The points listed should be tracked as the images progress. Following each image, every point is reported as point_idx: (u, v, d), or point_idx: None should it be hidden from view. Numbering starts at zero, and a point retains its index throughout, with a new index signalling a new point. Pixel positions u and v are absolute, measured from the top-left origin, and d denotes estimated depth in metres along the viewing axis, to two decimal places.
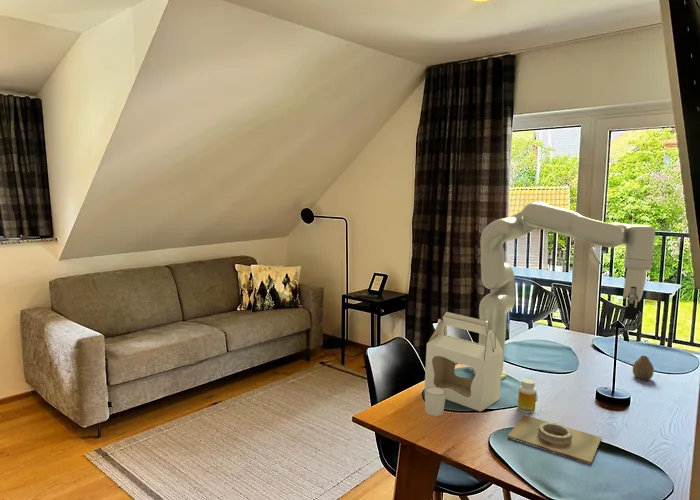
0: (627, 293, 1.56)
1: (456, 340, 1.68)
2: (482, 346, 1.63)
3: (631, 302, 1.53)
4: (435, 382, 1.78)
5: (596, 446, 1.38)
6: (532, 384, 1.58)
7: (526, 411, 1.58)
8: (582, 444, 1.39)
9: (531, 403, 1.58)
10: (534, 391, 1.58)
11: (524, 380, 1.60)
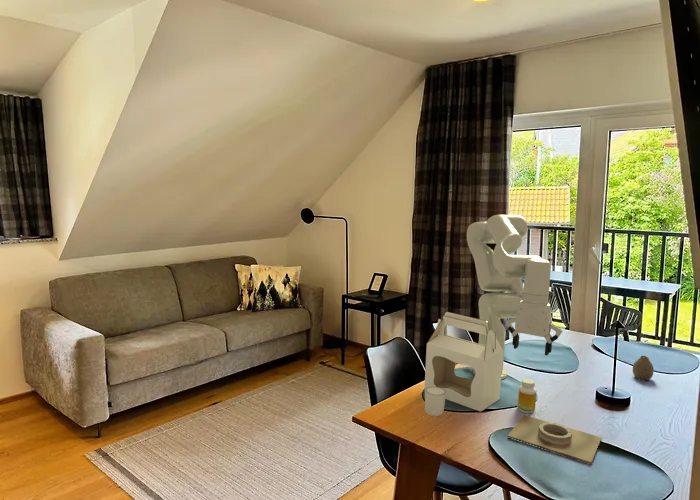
0: (548, 330, 1.53)
1: (456, 340, 1.68)
2: (482, 346, 1.63)
3: None
4: (435, 382, 1.78)
5: (596, 446, 1.38)
6: (532, 384, 1.58)
7: (526, 411, 1.58)
8: (582, 444, 1.39)
9: (531, 403, 1.58)
10: (534, 391, 1.58)
11: (524, 380, 1.60)
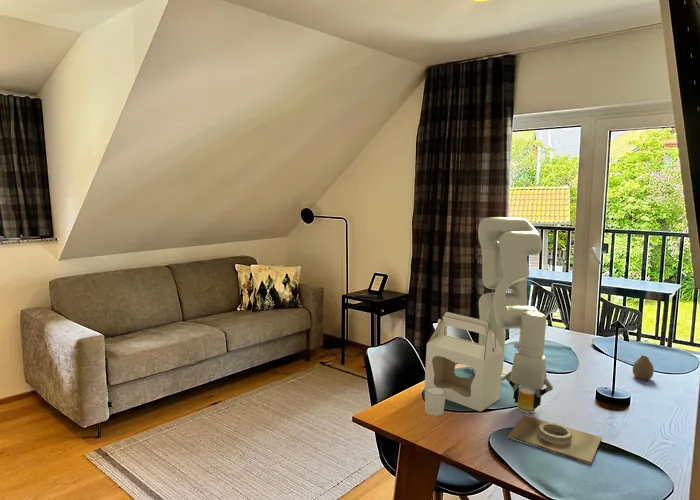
0: None
1: (456, 340, 1.68)
2: (482, 346, 1.63)
3: (546, 392, 1.57)
4: (435, 382, 1.78)
5: (596, 446, 1.38)
6: None
7: (526, 411, 1.58)
8: (582, 444, 1.39)
9: (531, 403, 1.58)
10: (534, 391, 1.58)
11: None
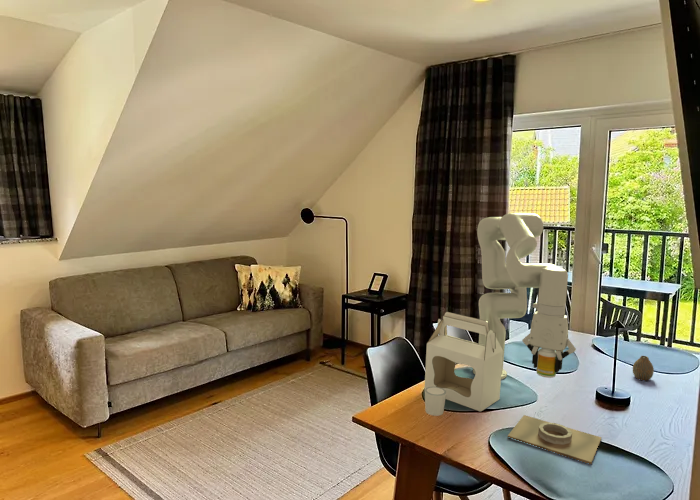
0: None
1: (456, 340, 1.68)
2: (482, 346, 1.63)
3: (568, 354, 1.44)
4: (435, 382, 1.78)
5: (596, 446, 1.38)
6: None
7: (546, 376, 1.46)
8: (582, 444, 1.39)
9: (552, 367, 1.45)
10: (555, 354, 1.45)
11: None
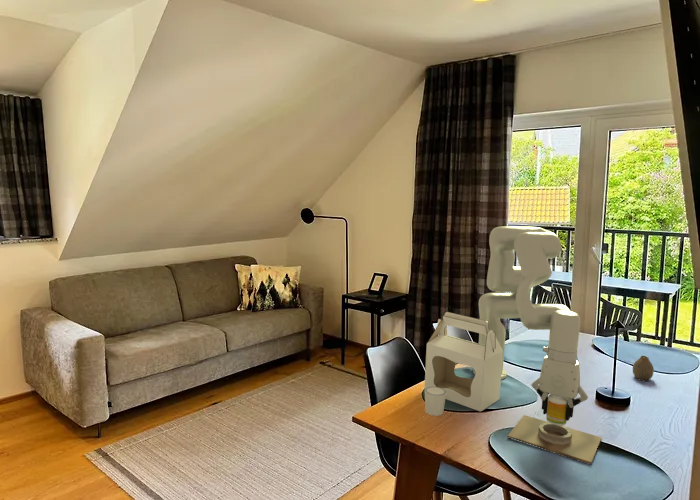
0: None
1: (456, 340, 1.68)
2: (482, 346, 1.63)
3: None
4: (435, 382, 1.78)
5: (596, 446, 1.38)
6: None
7: (557, 423, 1.39)
8: (582, 444, 1.39)
9: (563, 414, 1.39)
10: (566, 401, 1.39)
11: None
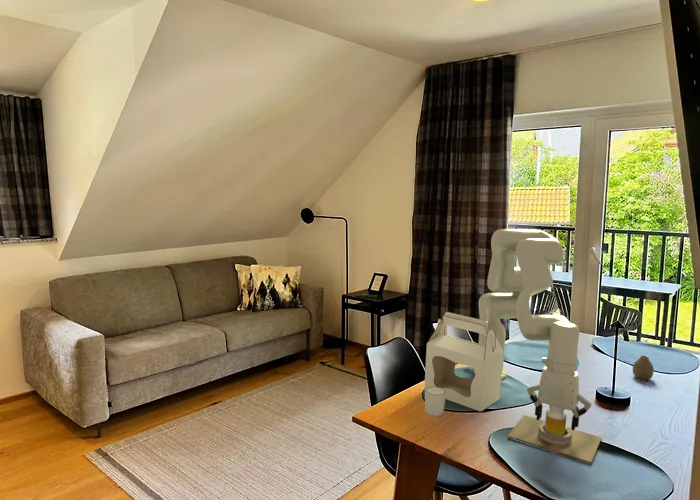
0: (576, 403, 1.37)
1: (456, 340, 1.68)
2: (482, 346, 1.63)
3: (586, 411, 1.37)
4: (435, 382, 1.78)
5: (596, 446, 1.38)
6: (562, 408, 1.40)
7: None
8: (582, 444, 1.39)
9: (561, 429, 1.40)
10: (564, 416, 1.40)
11: None
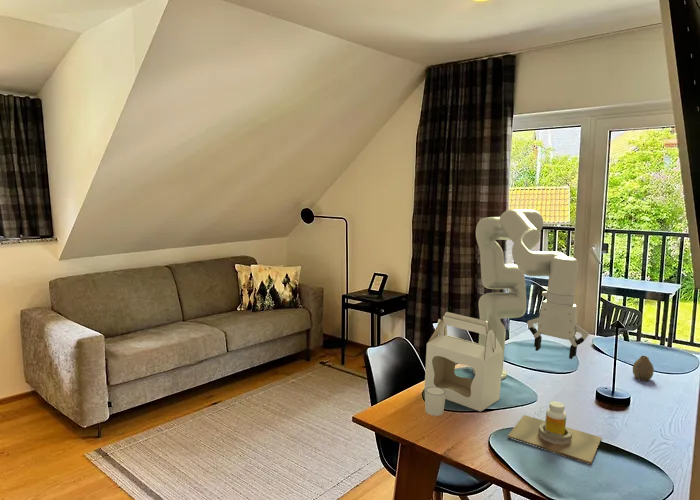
0: (574, 332, 1.43)
1: (456, 340, 1.68)
2: (482, 346, 1.63)
3: None
4: (435, 382, 1.78)
5: (596, 446, 1.38)
6: (562, 408, 1.40)
7: None
8: (582, 444, 1.39)
9: (561, 429, 1.40)
10: (564, 416, 1.40)
11: (552, 403, 1.42)
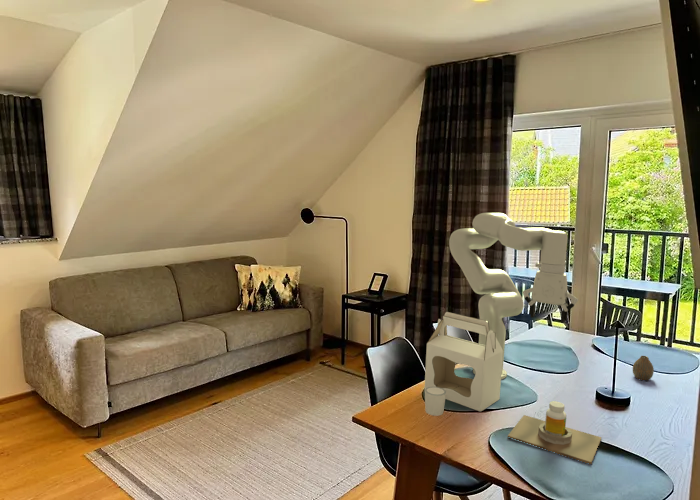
0: (565, 298, 1.59)
1: (456, 340, 1.68)
2: (482, 346, 1.63)
3: (574, 305, 1.59)
4: (435, 382, 1.78)
5: (596, 446, 1.38)
6: (562, 408, 1.40)
7: None
8: (582, 444, 1.39)
9: (561, 429, 1.40)
10: (564, 416, 1.40)
11: (552, 403, 1.42)
